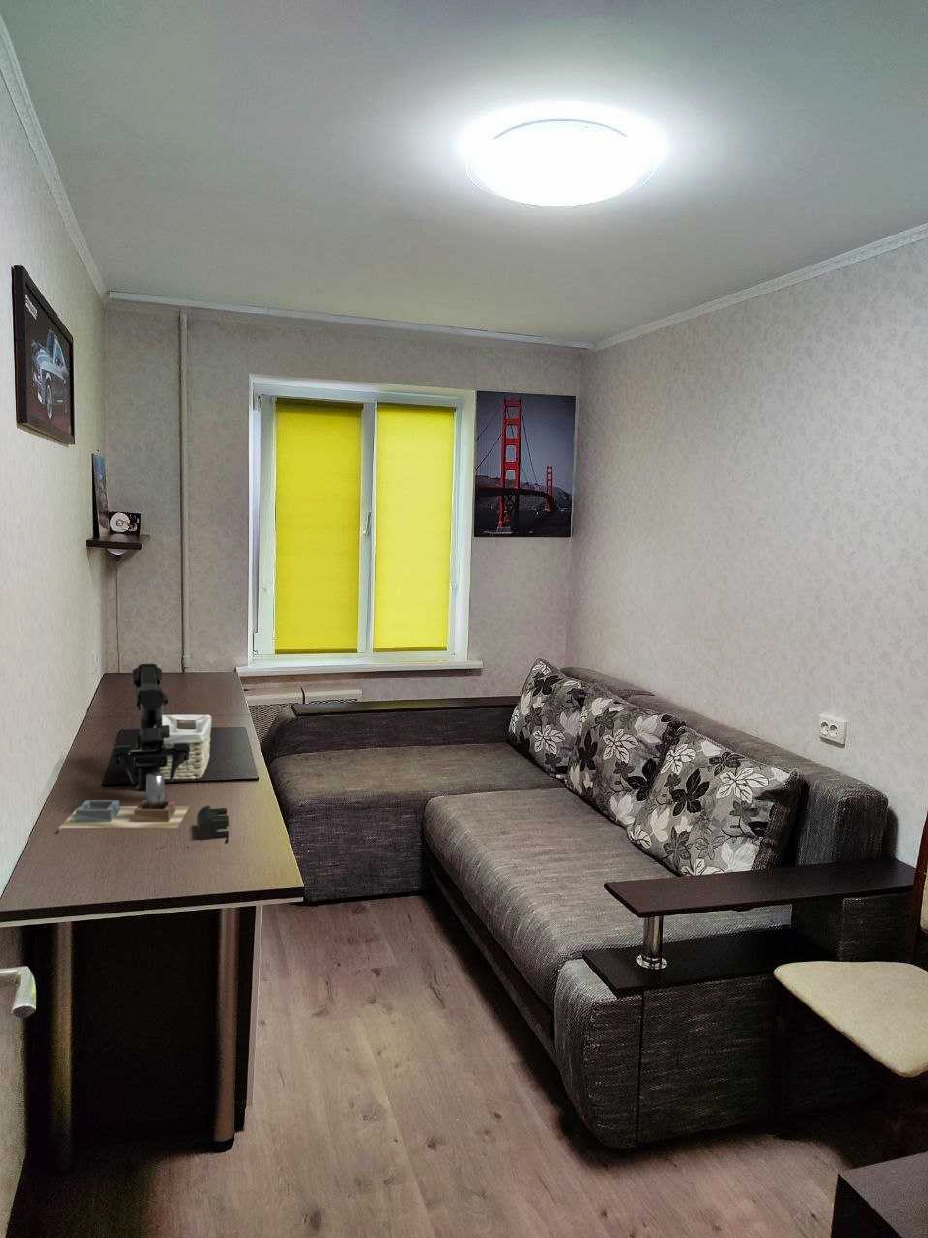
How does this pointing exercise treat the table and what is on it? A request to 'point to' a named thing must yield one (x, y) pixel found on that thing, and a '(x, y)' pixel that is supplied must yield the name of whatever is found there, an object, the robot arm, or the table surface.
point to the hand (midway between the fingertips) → (152, 782)
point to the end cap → (212, 823)
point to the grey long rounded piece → (155, 790)
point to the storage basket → (197, 745)
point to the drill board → (124, 815)
